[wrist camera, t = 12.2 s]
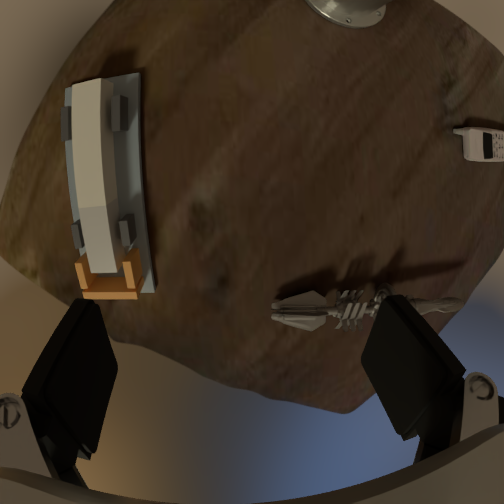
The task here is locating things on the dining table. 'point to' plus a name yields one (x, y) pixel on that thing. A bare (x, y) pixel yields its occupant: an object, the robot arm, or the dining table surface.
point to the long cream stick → (96, 174)
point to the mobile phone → (482, 144)
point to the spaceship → (348, 308)
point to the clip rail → (129, 197)
